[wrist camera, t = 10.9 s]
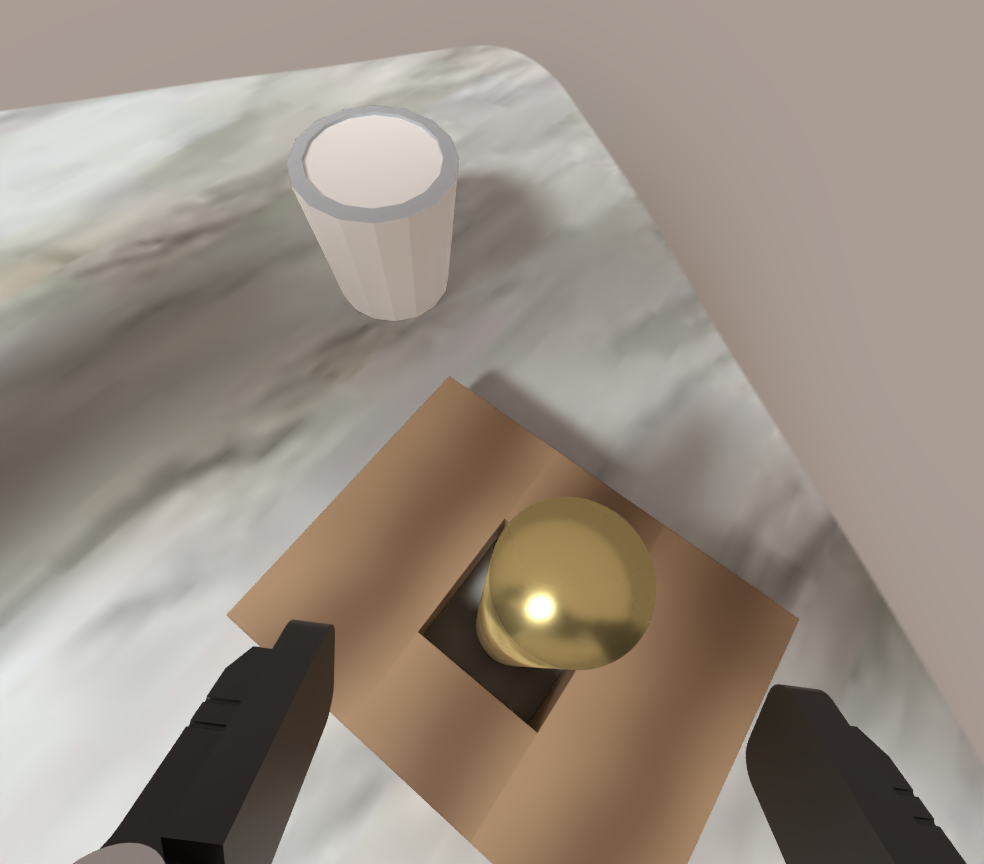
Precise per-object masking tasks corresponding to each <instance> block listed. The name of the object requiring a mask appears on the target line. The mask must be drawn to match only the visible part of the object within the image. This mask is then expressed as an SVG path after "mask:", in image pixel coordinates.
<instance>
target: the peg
mask: <svg viewBox="0 0 984 864" xmlns="http://www.w3.org/2000/svg"><path fill="white" fill-rule="evenodd" d="M655 602H656V577H655V572H654V567H653V564H652V561H651V558H650V555H649V553H648V551H647V548H646V546H645V544H644V543H643V541H642V540H641V538H640V536H639V535H638V534H637V532H636V531H635V530H634V529H633V527H632V526H631V525H630V524H629V523H628V522H627V521H626V520H625V519H623V518H622V517H621V516H620V515H618V514H617V513H616V512H614V511H613V510H611V509H609V508H608V507H606V506H604V505H601V504H599V503H597V502H594V501H591V500H588V499H583V498H578V497H556V498H551V499H546V500H543V501H540V502H537V503H535V504H533V505H531V506H529V507H527V508H526V509H524V510H523V511H521V512H520V513H519V514H518V515H516V516H515V517H514V518H513V519H512V520H511V521H510V522H509V523H508V525H507V526H506V527H505V528H504V530H503V532H502V533H501V535H500V536H499V538H498V540H497V542H496V545H495V547H494V550H493V553H492V557H491V561H490V565H489V569H488V573H487V577H486V581H485V585H484V589H483V593H482V597H481V601H480V605H479V609H478V613H477V618H476V631H477V636H478V639H479V642H480V644H481V646H482V648H483V649H484V651H485V652H486V653H487V654H488V655H489V656H490V657H491V658H492V659H494V660H495V661H497V662H499V663H501V664H504V665H508V666H519V667H535V668H551V669H567V670H589V669H595V668H599V667H603V666H605V665H608V664H610V663H613V662H615V661H616V660H618V659H620V658H621V657H623V656H624V655H625V654H627V653H628V652H629V651H630V650H632V648H633V647H634V646H635V645H636V644H637V643H638V642H639V641H640V639H641V638H642V636H643V635H644V633H645V632H646V630H647V628H648V626H649V623H650V621H651V618H652V615H653V612H654V607H655Z"/></svg>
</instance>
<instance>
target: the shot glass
mask: <svg viewBox="0 0 984 864" xmlns="http://www.w3.org/2000/svg"><path fill="white" fill-rule="evenodd" d="M458 165H459V157H458V155H457V152H456V150H455V147H454V144H453V142H452V139H451V137H450V136H449V135H448V134H447V133H446V132H445V131H443V130H442V129H441V128H440V127H439V126H438V125H437V124H436V123H435V122H434V121H433V120H431V119H428V118H426V117H424V116H421V115H419V114H416V113H414V112H412V111H409V110H407V109H402V108H394V107H386V106H377V105H372V106H364V107H357V108H350V109H343V110H341V111H338V112H336V113H334V114H331V115H329V116H326V117H324V118H322V119H319V120H317V121H315V122H314V123H313V124H312V125H311V126H310V127H309V128H307V129H306V130H305V131H304V132H303V133H302V134H301V135H300V136H299V137H298V138H296V139H295V142H294V144H293V147H292V149H291V152H290V154H289V157H288V159H287V167H288V173H289V178H290V184H291V187H292V189H293V191H294V193H295V195H296V197H297V199H298V201H299V203H300V205H301V207H302V209H303V212H304V214H305V216H306V218H307V220H308V222H309V224H310V226H311V228H312V230H313V232H314V234H315V237H316V239H317V241H318V243H319V245H320V247H321V249H322V251H323V253H324V255H325V257H326V259H327V262H328V264H329V266H330V268H331V270H332V272H333V274H334V276H335V278H336V280H337V282H338V284H339V287H340V289H341V291H342V293H343V295H344V296H345V298H346V299H347V300H348V301H349V302H350V304H351V305H352V306H353V307H354V308H355V310H357V311H359V312H361V313H363V314H365V315H367V316H369V317H371V318H373V319H380V320H388V321H400V320H405V319H410V318H415V317H418V316H419V315H421V314H423V313H425V312H426V311H428V310H430V309H431V308H433V307H435V305H436V304H437V303H438V301H439V300H440V299H441V297H442V296H443V295H444V293H445V292H446V287H447V282H448V276H449V266H450V254H451V243H452V232H453V221H454V210H455V199H456V187H457V176H458Z"/></svg>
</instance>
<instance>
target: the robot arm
mask: <svg viewBox="0 0 984 864" xmlns="http://www.w3.org/2000/svg"><path fill="white" fill-rule="evenodd" d="M334 659H335V628H334V625H332V624H325V623H317V622H310V621H302V620H294V619H292V620H290V621H289V622H288V624H287V625H286V626H285V628H284V630H283V631H282V633H281V635H280V637H279V638H278V640H277V642H276V643H275V645H274V647H273V648H272V649H270V648H262V647H254V646H253V647H252V648H251V649H249V650H248V651H247V652H246V653H244V654H243V655H242V656H241V657H239V658H238V659H237V660H235V661H234V662H233V663H232V664H230V665H229V666H228V667H227V668H226V669H225V670H224V671H223V673H222V674H221V676H220V677H219V679H218V680H217V682H216V683H215V685H214V686H213V688H212V689H211V691H210V692H209V694H208V695H207V698H206V701H205V702H203V703H202V704H201V706H200V707H199V708H198V710H197V711H196V713H195V714H194V716H193V717H192V719H191V721H190V725H189V726H188V727H186V728H185V729H184V731H183V732H182V734H181V735H180V737H179V738H178V740H177V741H176V743H175V744H174V746H173V747H172V748H171V750H170V751H169V753H168V754H167V756H166V757H165V759H164V760H163V762H162V763H161V765H160V766H159V768H158V769H157V771H156V772H155V774H154V775H153V777H152V778H151V780H150V781H149V783H148V784H147V785H146V787H145V788H144V790H143V791H142V793H141V794H140V796H139V797H138V799H137V800H136V802H135V803H134V805H133V806H132V808H131V809H130V811H129V812H128V814H127V815H126V817H125V818H124V820H123V821H122V822H121V824H120V825H119V827H118V828H117V829H116V831H115V832H114V833H113V835H112V836H111V837H110V838H109V839H108V840H107V842H106V843H105V844H104V845H103V846H102V847H101V848H100V849H99V850H97V851H94V852H92V853H90V854H88V855H86V856H85V857H83V858H81V859H79V860H78V861H76V862H75V863H73V864H271V863H272V861H273V858H274V856H275V853H276V850H277V848H278V845H279V843H280V840H281V838H282V835H283V833H284V830H285V827H286V825H287V822H288V820H289V817H290V815H291V812H292V809H293V807H294V804H295V802H296V799H297V797H298V794H299V792H300V789H301V786H302V784H303V781H304V779H305V776H306V774H307V771H308V769H309V766H310V763H311V761H312V758H313V756H314V753H315V751H316V748H317V746H318V743H319V740H320V738H321V735H322V733H323V730H324V728H325V725H326V722H327V719H328V715H329V712H330V708H331V703H332V698H333V691H334ZM746 764H747V770H748V775H749V778H750V781H751V784H752V786H753V789H754V791H755V793H756V796H757V798H758V800H759V802H760V805H761V807H762V809H763V812H764V814H765V816H766V819H767V821H768V823H769V825H770V828H771V830H772V832H773V835H774V837H775V839H776V842H777V844H778V846H779V848H780V851H781V853H782V855H783V858H784V860H785V862H786V864H966V862H965V861H964V860H963V858H962V857H961V855H960V854H959V853H958V851H957V850H956V849H955V847H954V846H953V844H952V843H951V842H950V840H949V839H948V837H947V836H946V835H945V833H944V832H943V831H942V829H941V828H940V827H938V826H936V825H935V824H934V818H933V817H932V815H931V814H930V813H929V811H928V810H927V808H926V807H925V806H924V804H923V803H922V802H921V800H920V799H919V797H915V796H914V794H913V789H912V788H911V786H910V785H909V784H908V782H907V781H906V779H905V778H904V777H903V775H902V774H901V773H900V771H899V770H898V768H897V767H896V766H895V764H894V763H893V761H892V760H891V759H890V757H889V756H888V755H887V754H886V753H885V752H884V751H882V750H881V749H880V748H879V747H878V746H877V745H876V744H875V743H874V742H873V741H872V740H871V739H869V738H868V737H867V736H866V735H865V734H864V733H863V732H862V731H861V730H860V729H859V728H858V727H855V726H850V725H849V724H848V722H847V721H846V719H845V718H844V716H843V715H842V713H841V712H840V711H839V709H838V708H837V706H836V705H835V703H834V702H833V700H832V699H831V698H830V697H829V696H828V695H827V694H826V693H825V692H824V691H822V690H818V689H810V688H803V687H795V686H788V685H779V684H777V685H774V686H773V687H772V688H771V689H770V691H769V693H768V695H767V698H766V700H765V703H764V705H763V707H762V710H761V712H760V714H759V717H758V719H757V721H756V724H755V726H754V728H753V731H752V733H751V736H750V738H749V740H748V743H747V748H746Z"/></svg>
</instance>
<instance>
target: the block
mask: <svg viewBox="0 0 984 864" xmlns="http://www.w3.org/2000/svg"><path fill="white" fill-rule="evenodd" d="M556 497H578V498H583V499H588V500H591V501H594V502H597V503H599V504H601V505H604V506H606V507H608V508H609V509H611V510H613V511H614V512H616V513H617V514H618V515H620V516H621V517H622V518H623V519H625V520H626V521H627V522H628V523H629V524H630V525H631V526H632V527H633V529H634V530H635V531H636V532H637V534H638V535H639V536H640V538H641V540H642V541H643V543H644V544H645V546H646V548H647V551H648V553H649V555H650V558H651V561H652V564H653V567H654V572H655V577H656V602H655V607H654V612H653V615H652V618H651V621H650V623H649V626H648V628H647V630H646V632H645V633H644V635H643V636H642V638H641V639H640V641H639V642H638V643H637V644H636V645H635V646H634V647H633V648H632V650H630V651H629V652H628V653H627V654H625V655H624V656H623V657H621V658H620V659H618V660H616V661H615V662H613V663H610V664H608V665H605V666H603V667H599V668H595V669H589V670H567V669H563V671H562V672H561V674H560V675H559V677H558V679H557V680H556V682H555V683H554V685H553V687H552V688H551V690H550V691H549V693H548V695H547V696H546V698H545V699H544V701H543V703H542V704H541V706H540V707H539V709H538V711H537V712H536V714H535V715H534V717H533V719H532V720H531V722H530V723H529V725H528V724H527V723H526V722H525V721H524V720H522V719H521V718H520V717H519V716H518V715H517V714H515V713H514V712H513V711H512V710H511V709H509V708H508V707H507V706H506V705H505V704H503V703H502V702H501V701H500V700H499V699H498V698H496V697H495V696H494V695H493V694H492V693H490V692H489V691H488V690H487V689H486V688H485V687H483V686H482V685H481V684H480V683H479V682H477V681H476V680H475V679H474V678H473V677H472V676H470V675H469V674H468V673H467V672H466V671H464V670H463V669H462V668H461V667H460V666H459V665H457V664H456V663H455V662H454V661H453V660H451V659H450V658H449V657H448V656H447V655H446V654H444V653H443V652H442V651H441V650H440V649H438V648H437V647H436V646H435V645H434V644H432V643H431V642H430V641H429V640H428V639H427V638H425V637H424V636H423V635H424V634H425V633H426V631H427V630H428V629H429V627H430V626H431V625H432V623H433V622H434V621H435V619H436V618H437V617H438V616H439V614H440V613H441V612H442V610H443V609H444V608H445V606H446V605H447V604H448V602H449V601H450V600H451V598H452V597H453V596H454V594H455V593H456V592H457V590H458V589H459V588H460V586H461V585H462V584H463V583H464V581H465V580H466V579H467V577H468V576H469V575H470V573H471V572H472V571H473V569H474V568H475V567H476V565H477V564H478V563H479V561H480V560H481V559H482V557H483V556H484V555H485V553H486V552H487V551H488V550H489V548H490V547H491V546H492V544H493V543H494V542H495V540H496V539H497V538H498V536H499V535H500V534H501V533H502V532H503V530H504V528H505V527H506V526H507V525H508V523H509V522H510V521H511V520H512V519H513V518H514V517H515V516H516V515H518V514H519V513H520V512H521V511H523V510H524V509H526V508H527V507H529V506H531V505H533V504H535V503H537V502H540V501H543V500H546V499H551V498H556ZM227 616H228V617H229V618H230V619H231V620H232V621H233V622H234V623H235V624H236V625H237V626H239V627H240V628H241V629H242V630H243V631H244V632H245V633H246V634H247V635H248V636H249V637H250V638H251V639H252V640H254V641H255V642H256V643H257V644H258V645H259V646H260V647H262V648H270V649H272V648H273V647H274V645H275V643H276V642H277V640H278V638H279V637H280V635H281V633H282V631H283V630H284V628H285V626H286V625H287V624H288V622H289V621H290V620H292V619H294V620H302V621H310V622H317V623H325V624H332V625H334V628H335V659H334V691H333V698H332V703H331V708H330V712H331V713H332V714H333V715H334V716H335V717H336V718H337V719H338V720H339V721H340V722H341V723H342V724H344V725H345V726H346V727H347V728H348V729H349V730H350V731H351V732H352V733H353V734H354V735H355V736H356V737H357V738H359V739H360V740H361V741H362V742H363V743H364V744H365V745H366V746H367V747H368V748H369V749H370V750H371V751H372V752H374V753H375V754H376V755H377V756H378V757H379V758H380V759H381V760H382V761H383V762H384V763H385V764H386V765H387V766H389V767H390V768H391V769H392V770H393V771H394V772H395V773H396V774H397V775H398V776H399V777H400V778H401V779H402V780H404V781H405V782H406V783H407V784H408V785H409V786H410V787H411V788H412V789H413V790H414V791H415V792H416V793H417V794H418V795H420V796H421V797H422V798H423V799H424V800H425V801H426V802H427V803H428V804H429V805H430V806H431V807H432V808H433V809H435V810H436V811H437V812H438V813H439V814H440V815H441V816H442V817H443V818H444V819H445V820H446V821H447V822H448V823H450V824H451V825H452V826H453V827H454V828H455V829H456V830H457V831H458V832H459V833H460V834H461V835H462V836H463V837H465V838H466V839H467V840H468V841H469V842H470V843H471V844H472V845H473V846H474V847H475V848H476V849H477V850H478V851H480V852H481V853H482V854H483V855H484V856H485V857H486V858H487V859H488V860H489V861H490V862H491V863H492V864H687V863H688V861H689V859H690V857H691V855H692V852H693V850H694V848H695V846H696V844H697V841H698V839H699V837H700V835H701V833H702V831H703V828H704V826H705V824H706V822H707V820H708V817H709V815H710V813H711V811H712V809H713V807H714V804H715V802H716V800H717V798H718V796H719V793H720V791H721V789H722V787H723V785H724V783H725V780H726V778H727V776H728V774H729V772H730V769H731V767H732V765H733V763H734V761H735V758H736V756H737V754H738V752H739V750H740V748H741V745H742V743H743V741H744V739H745V737H746V734H747V732H748V730H749V728H750V726H751V724H752V721H753V719H754V717H755V715H756V713H757V710H758V708H759V706H760V704H761V702H762V700H763V697H764V695H765V693H766V691H767V689H768V686H769V684H770V682H771V680H772V678H773V676H774V673H775V671H776V669H777V667H778V665H779V662H780V660H781V658H782V656H783V654H784V652H785V649H786V647H787V645H788V643H789V641H790V638H791V636H792V634H793V632H794V630H795V628H796V625H797V623H798V621H799V619H798V618H797V617H796V616H794V615H793V614H791V613H790V612H788V611H787V610H785V609H784V608H783V607H781V606H780V605H778V604H777V603H775V602H774V601H772V600H771V599H770V598H768V597H767V596H765V595H764V594H762V593H761V592H760V591H758V590H757V589H755V588H754V587H752V586H751V585H749V584H748V583H747V582H745V581H744V580H742V579H741V578H739V577H738V576H736V575H735V574H734V573H732V572H731V571H729V570H728V569H726V568H725V567H724V566H722V565H721V564H719V563H718V562H716V561H715V560H713V559H712V558H711V557H709V556H708V555H706V554H705V553H703V552H702V551H700V550H699V549H698V548H696V547H695V546H693V545H692V544H690V543H689V542H687V541H686V540H685V539H683V538H682V537H680V536H679V535H677V534H676V533H675V532H673V531H672V530H670V529H669V528H667V527H666V526H664V525H663V524H662V523H660V522H659V521H657V520H656V519H654V518H653V517H651V516H650V515H649V514H647V513H646V512H644V511H643V510H641V509H640V508H639V507H637V506H636V505H634V504H633V503H631V502H630V501H628V500H627V499H626V498H624V497H623V496H621V495H620V494H618V493H617V492H615V491H614V490H613V489H611V488H610V487H608V486H607V485H605V484H604V483H603V482H601V481H600V480H598V479H597V478H595V477H594V476H592V475H591V474H590V473H588V472H587V471H585V470H584V469H582V468H581V467H579V466H578V465H577V464H575V463H574V462H572V461H571V460H569V459H568V458H567V457H565V456H564V455H562V454H561V453H559V452H558V451H556V450H555V449H554V448H552V447H551V446H549V445H548V444H546V443H545V442H543V441H542V440H541V439H539V438H538V437H536V436H535V435H533V434H532V433H531V432H529V431H528V430H526V429H525V428H523V427H522V426H520V425H519V424H518V423H516V422H515V421H513V420H512V419H510V418H509V417H507V416H506V415H505V414H503V413H502V412H500V411H499V410H497V409H496V408H494V407H493V406H492V405H490V404H489V403H487V402H486V401H484V400H483V399H482V398H480V397H479V396H477V395H476V394H474V393H473V392H471V391H470V390H469V389H467V388H466V387H464V386H463V385H461V384H460V383H458V382H457V381H456V380H454V379H453V378H451V377H450V376H449V377H448V378H447V379H446V380H445V381H444V383H443V384H442V385H441V386H440V387H439V388H438V389H437V390H436V391H435V392H434V393H433V394H432V395H431V396H430V398H429V399H428V400H427V401H426V402H425V403H424V404H423V405H422V406H421V407H420V408H419V409H418V410H417V411H416V413H415V414H414V415H413V416H412V417H411V418H410V419H409V420H408V421H407V422H406V423H405V424H404V425H403V426H402V428H401V429H400V430H399V431H398V432H397V433H396V434H395V435H394V436H393V437H392V438H391V439H390V440H389V441H388V443H387V444H386V445H385V446H384V447H383V448H382V449H381V450H380V451H379V452H378V453H377V454H376V455H375V456H374V458H373V459H372V460H371V461H370V462H369V463H368V464H367V465H366V466H365V467H364V468H363V469H362V470H361V471H360V473H359V474H358V475H357V476H356V477H355V478H354V479H353V480H352V481H351V482H350V483H349V484H348V485H347V486H346V487H345V489H344V490H343V491H342V492H341V493H340V494H339V495H338V496H337V497H336V498H335V499H334V500H333V501H332V502H331V504H330V505H329V506H328V507H327V508H326V509H325V510H324V511H323V512H322V513H321V514H320V515H319V516H318V517H317V519H316V520H315V521H314V522H313V523H312V524H311V525H310V526H309V527H308V528H307V529H306V530H305V531H304V532H303V534H302V535H301V536H300V537H299V538H298V539H297V540H296V541H295V542H294V543H293V544H292V545H291V546H290V547H289V549H288V550H287V551H286V552H285V553H284V554H283V555H282V556H281V557H280V558H279V559H278V560H277V561H276V562H275V564H274V565H273V566H272V567H271V568H270V569H269V570H268V571H267V572H266V573H265V574H264V575H263V576H262V577H261V579H260V580H259V581H258V582H257V583H256V584H255V585H254V586H253V587H252V588H251V589H250V590H249V591H248V592H247V594H246V595H245V596H244V597H243V598H242V599H241V600H240V601H239V602H238V603H237V604H236V605H235V606H234V607H233V609H232V610H231V611H230V612H229V613H228V614H227Z"/></svg>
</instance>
